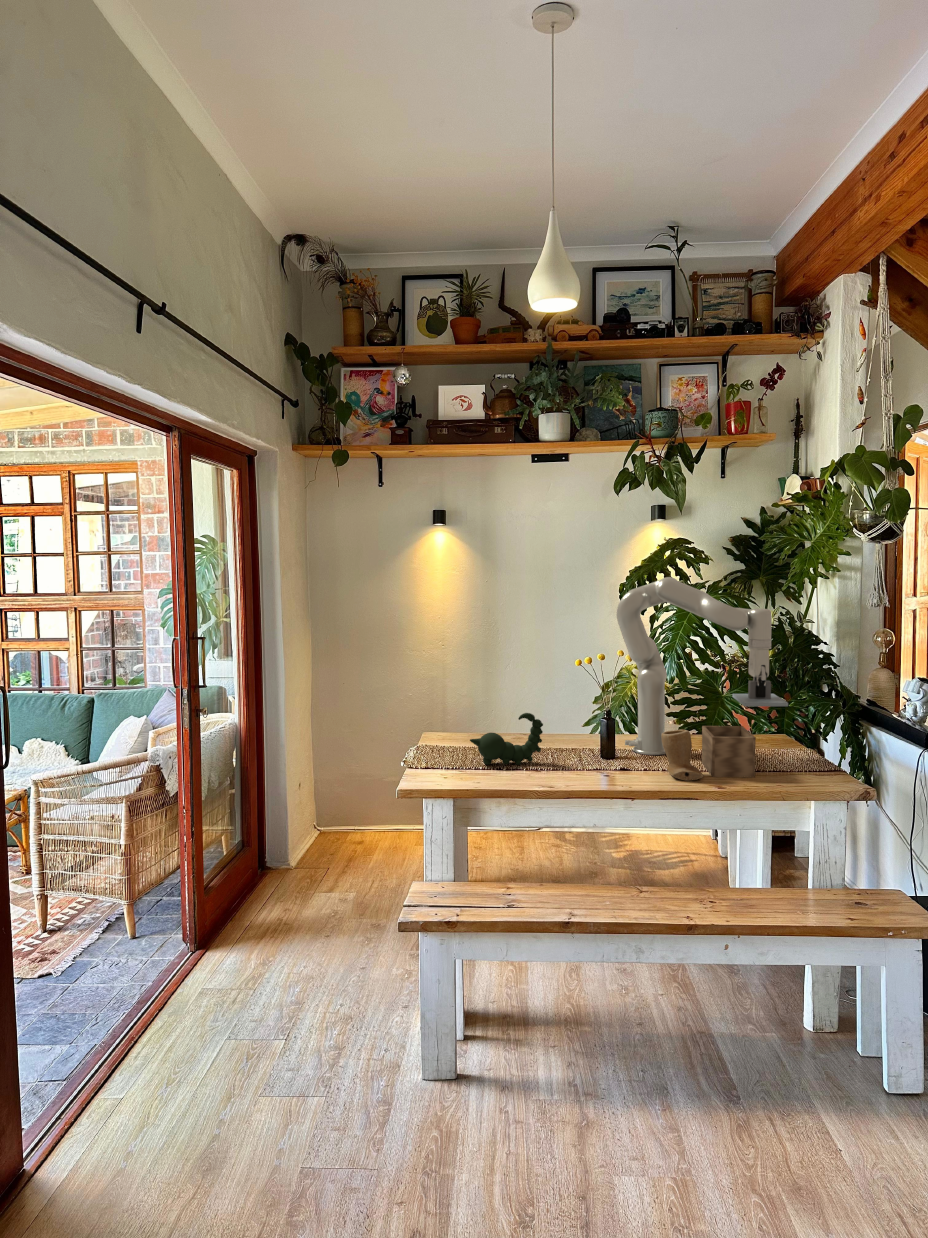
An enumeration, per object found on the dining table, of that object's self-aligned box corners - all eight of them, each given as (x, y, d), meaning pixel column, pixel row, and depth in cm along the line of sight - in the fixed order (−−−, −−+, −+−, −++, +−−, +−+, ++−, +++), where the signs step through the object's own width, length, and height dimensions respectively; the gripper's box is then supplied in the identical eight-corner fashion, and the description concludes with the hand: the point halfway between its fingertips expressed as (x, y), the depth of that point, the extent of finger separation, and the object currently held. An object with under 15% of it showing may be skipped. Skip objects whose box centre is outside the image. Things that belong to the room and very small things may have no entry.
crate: (711, 776, 276) (712, 737, 275) (701, 763, 293) (702, 726, 292) (754, 777, 275) (755, 737, 274) (742, 763, 292) (742, 726, 291)
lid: (744, 706, 289) (744, 685, 289) (732, 697, 308) (732, 677, 307) (788, 706, 288) (788, 685, 287) (773, 697, 306) (773, 677, 306)
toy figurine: (536, 764, 302) (466, 760, 299) (540, 711, 300) (470, 707, 298) (541, 770, 292) (469, 767, 290) (546, 716, 291) (473, 712, 288)
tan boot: (658, 769, 285) (659, 725, 284) (695, 770, 284) (695, 726, 283) (665, 782, 270) (665, 735, 269) (703, 782, 269) (704, 736, 268)
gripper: (743, 641, 305) (742, 692, 306) (754, 647, 289) (754, 700, 290) (764, 641, 304) (764, 692, 305) (777, 646, 288) (776, 700, 289)
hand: (759, 696), depth 298 cm, fingers closed on lid, 2 cm apart
